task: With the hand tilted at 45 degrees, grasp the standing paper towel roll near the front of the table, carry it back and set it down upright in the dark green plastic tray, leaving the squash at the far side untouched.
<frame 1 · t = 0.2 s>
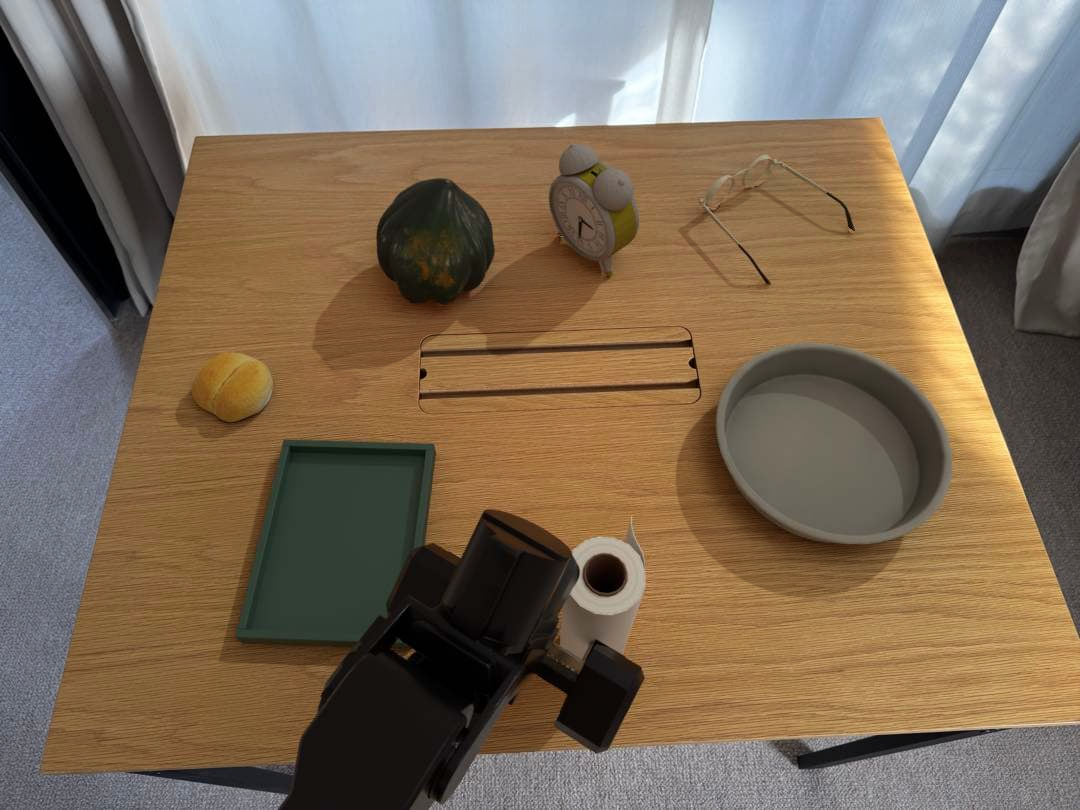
hand: (543, 617, 63), 13 cm above the table, tool tilted 35°, fingers open, 9 cm apart
alarm clock: (594, 250, 102), on the table
tray: (345, 541, 80), on the table
cake pan: (819, 454, 85), on the table
wire-rimmed eyeglasses: (771, 227, 104), on the table
squash: (440, 275, 100), on the table
bread roll: (236, 393, 90), on the table
paper towel roll: (595, 647, 74), on the table
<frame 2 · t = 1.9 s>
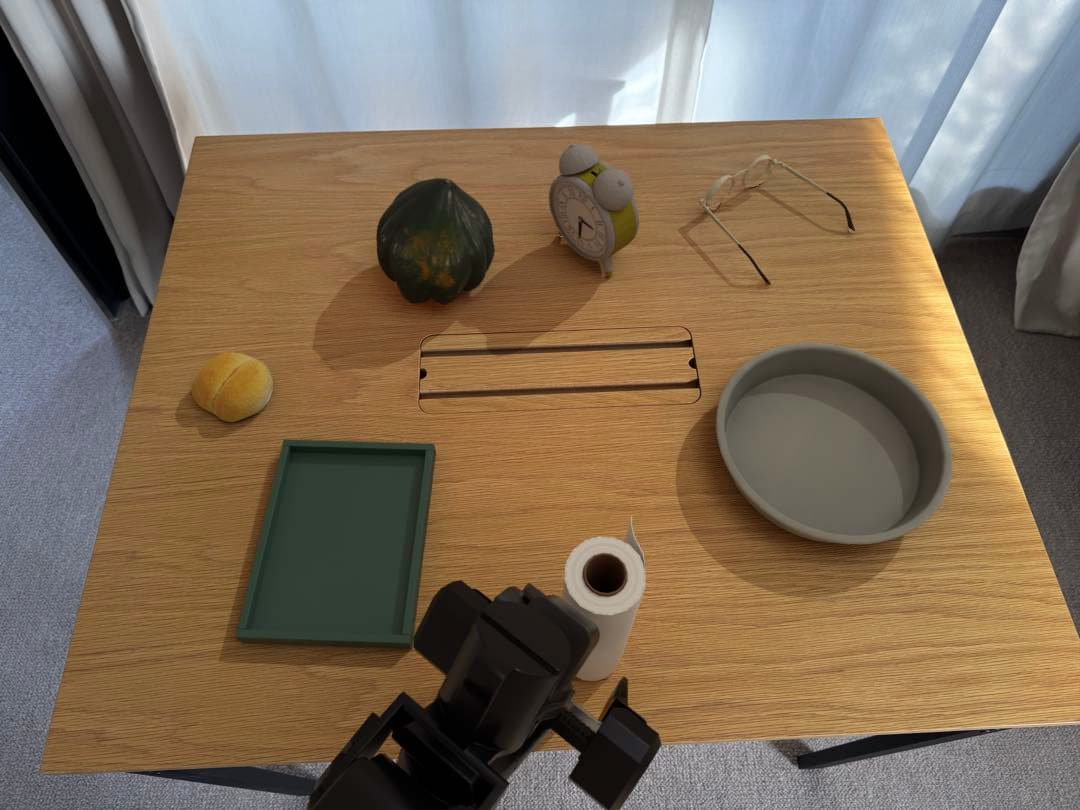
hand: (576, 645, 62), 12 cm above the table, tool tilted 45°, fingers open, 9 cm apart
nothing on the table moved.
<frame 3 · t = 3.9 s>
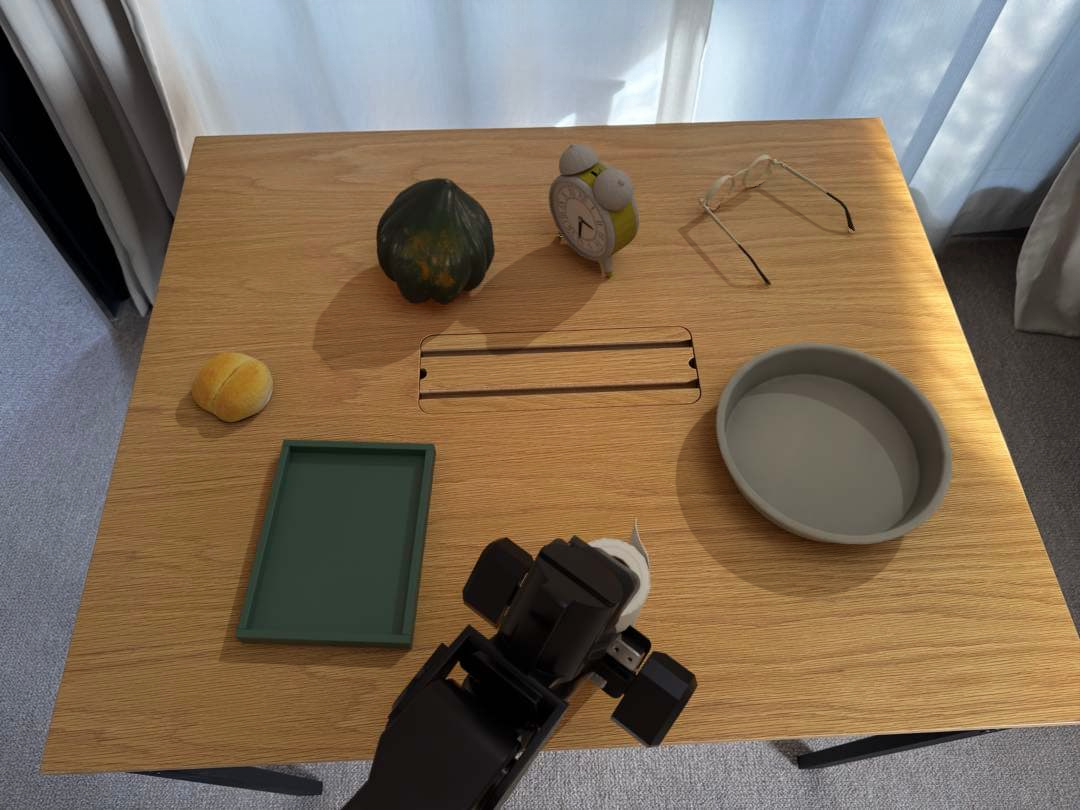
hand: (611, 602, 66), 10 cm above the table, tool tilted 45°, fingers closed on paper towel roll, 3 cm apart
paper towel roll: (595, 647, 74), on the table, touching gripper
everything else where it was.
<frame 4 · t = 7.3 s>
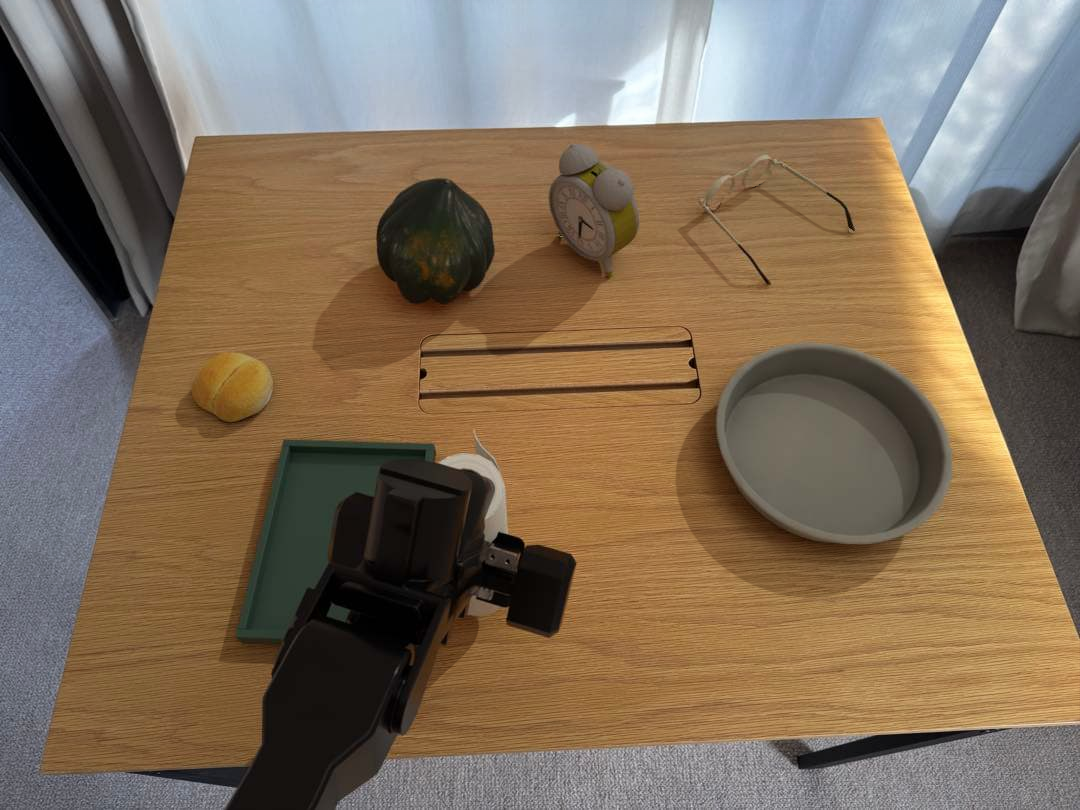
hand: (480, 526, 67), 13 cm above the table, tool tilted 45°, fingers closed on paper towel roll, 3 cm apart
paper towel roll: (483, 583, 75), point 3 cm above the table, touching gripper
everything else where it was.
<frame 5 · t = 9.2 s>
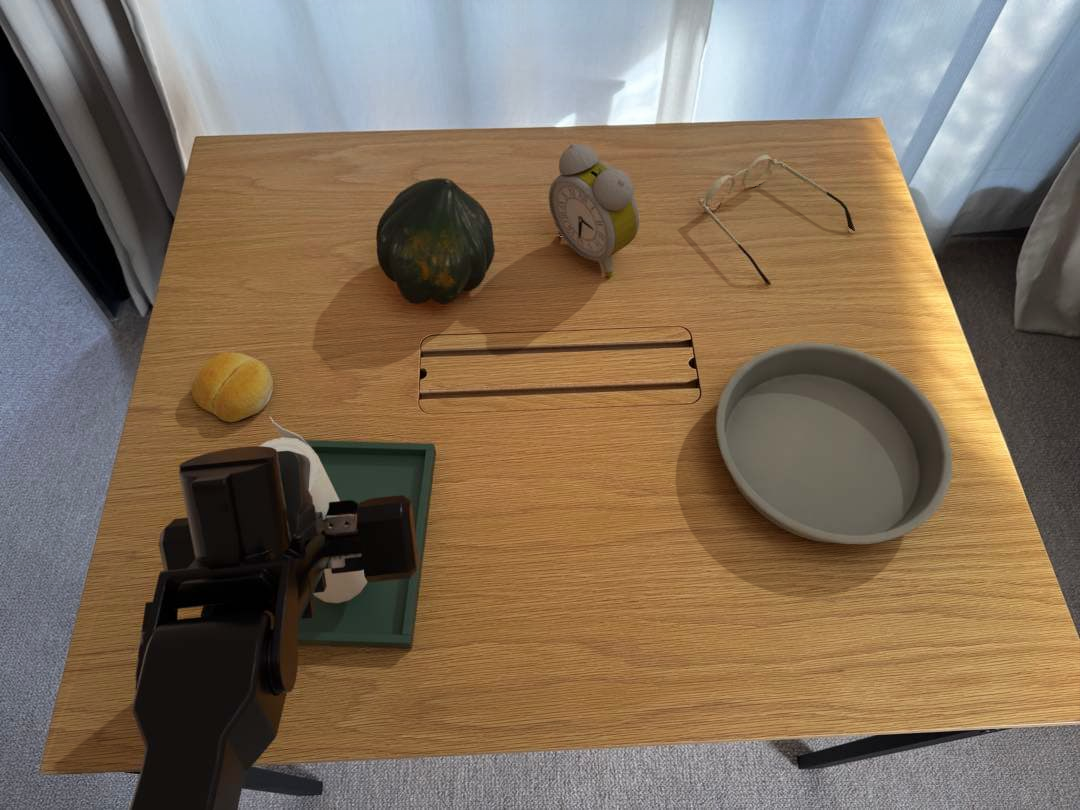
hand: (315, 511, 67), 13 cm above the table, tool tilted 45°, fingers closed on paper towel roll, 3 cm apart
paper towel roll: (342, 569, 75), point 3 cm above the table, touching gripper
everything else where it was.
when the fingers open (11 cm above the table, at t = 10.9 s): paper towel roll stays where it is, resting on tray.
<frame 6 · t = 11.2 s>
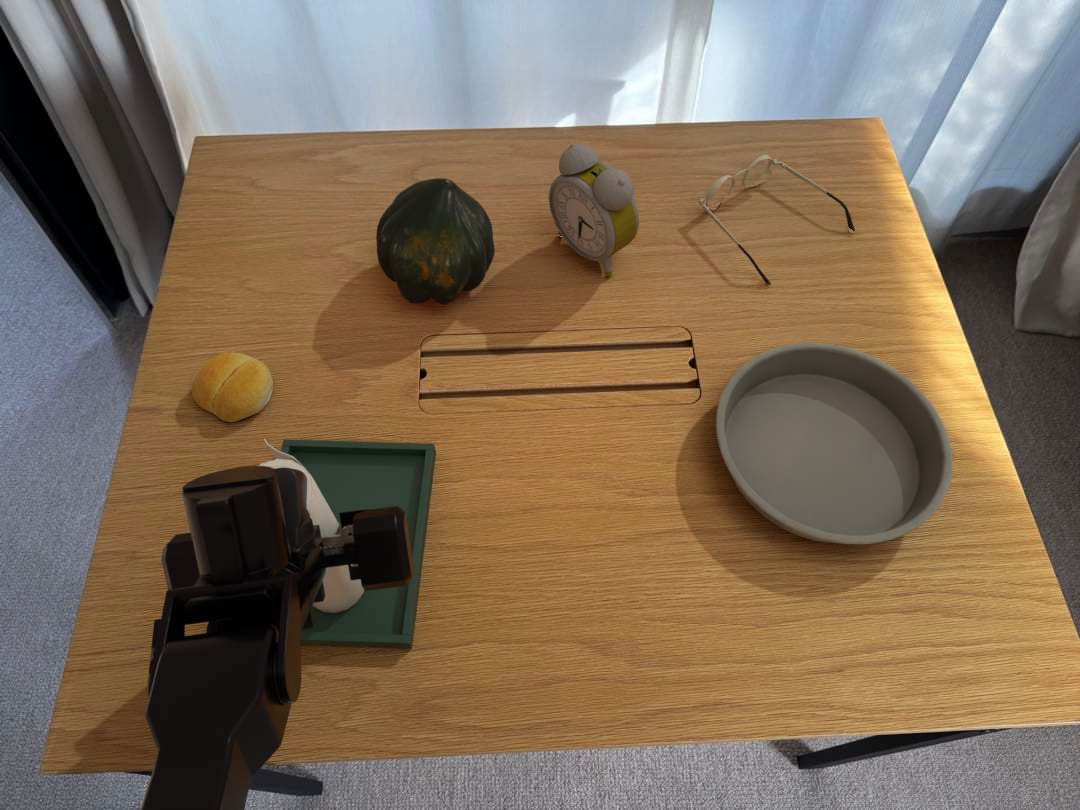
hand: (312, 522, 69), 11 cm above the table, tool tilted 45°, fingers open, 7 cm apart
paper towel roll: (339, 579, 77), resting on tray
everything else where it was.
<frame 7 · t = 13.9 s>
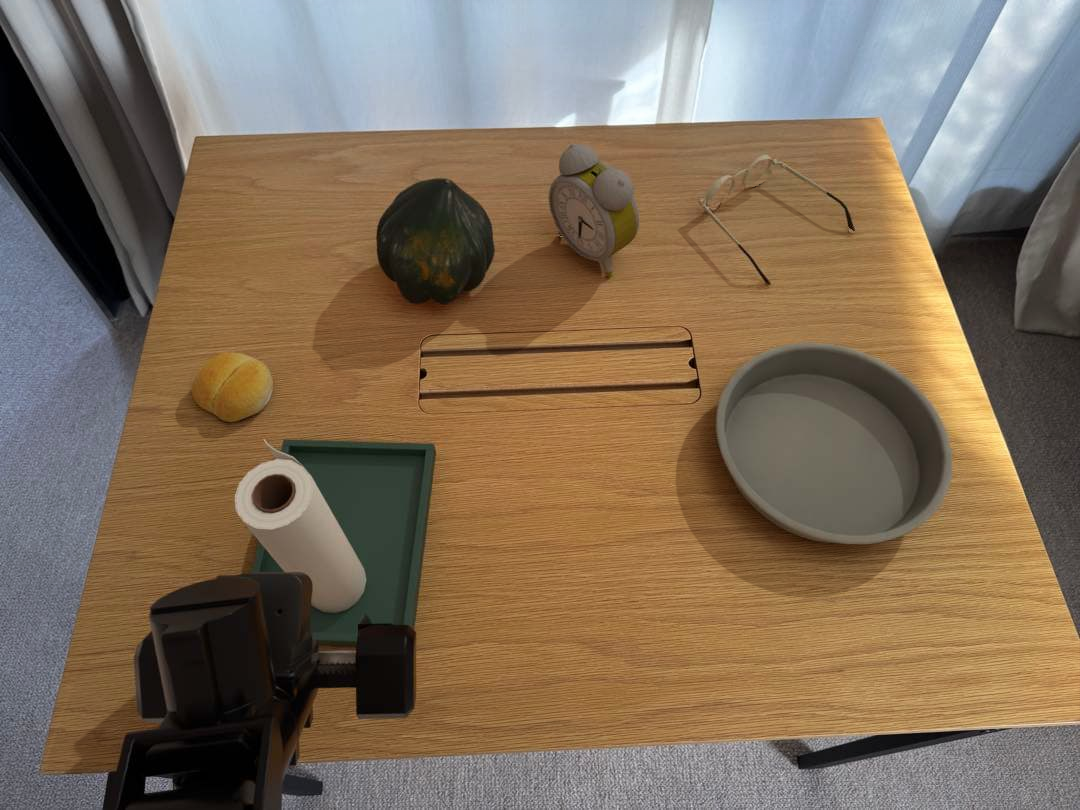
hand: (307, 621, 62), 13 cm above the table, tool tilted 40°, fingers open, 9 cm apart
nothing on the table moved.
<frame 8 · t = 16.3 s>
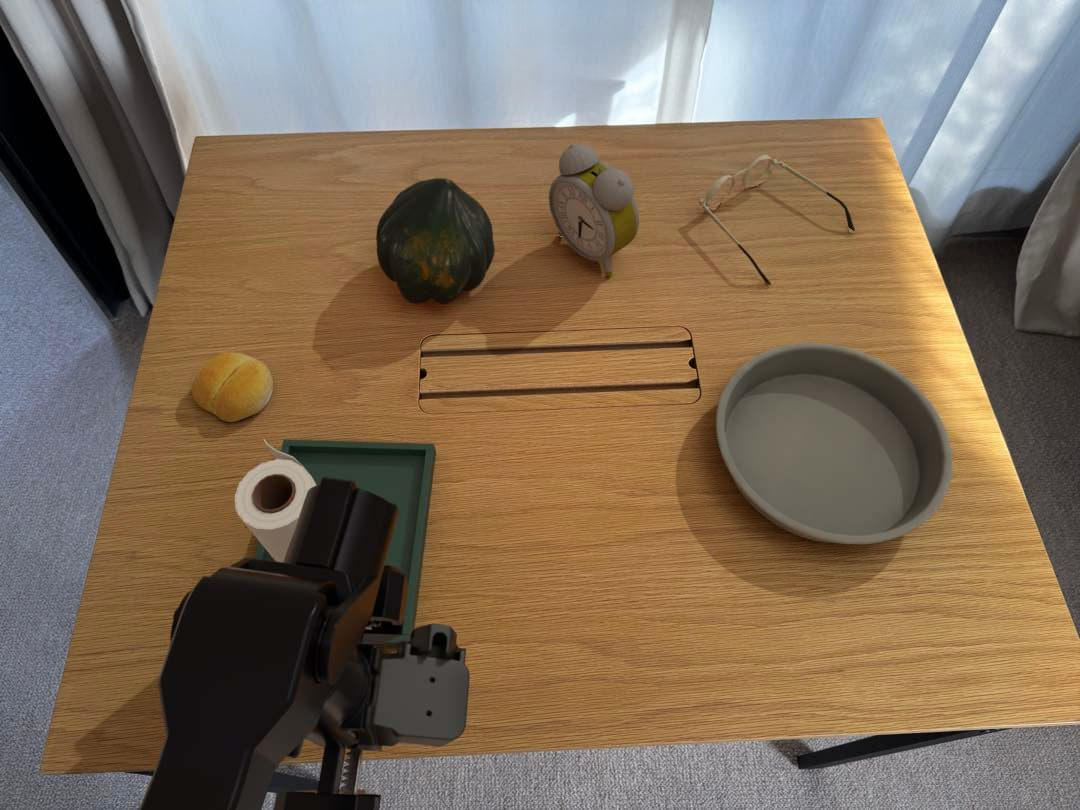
hand: (368, 726, 58), 13 cm above the table, tool pointing down, fingers open, 9 cm apart
nothing on the table moved.
at the end: paper towel roll inside the target area in the tray (4.3 cm from its centre), point 0.3 cm above the tray's base; paper towel roll tilted 0°; squash moved 0.2 cm from its start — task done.
